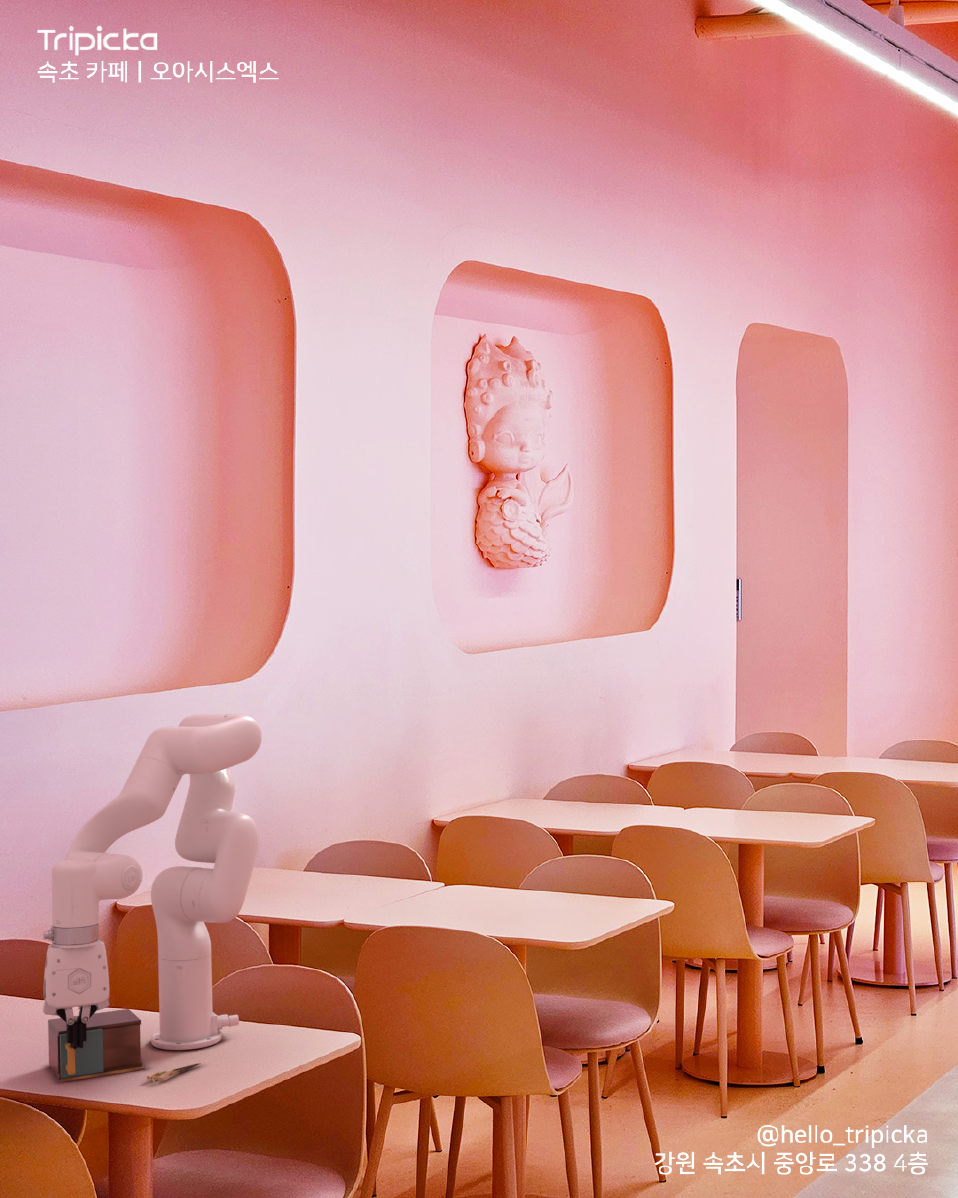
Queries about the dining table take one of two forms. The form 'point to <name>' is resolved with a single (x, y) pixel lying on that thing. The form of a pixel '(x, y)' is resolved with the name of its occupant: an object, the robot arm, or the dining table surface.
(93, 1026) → the cupboard
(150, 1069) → the dining table surface
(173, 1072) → the tan slender tapered piece
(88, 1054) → the door
